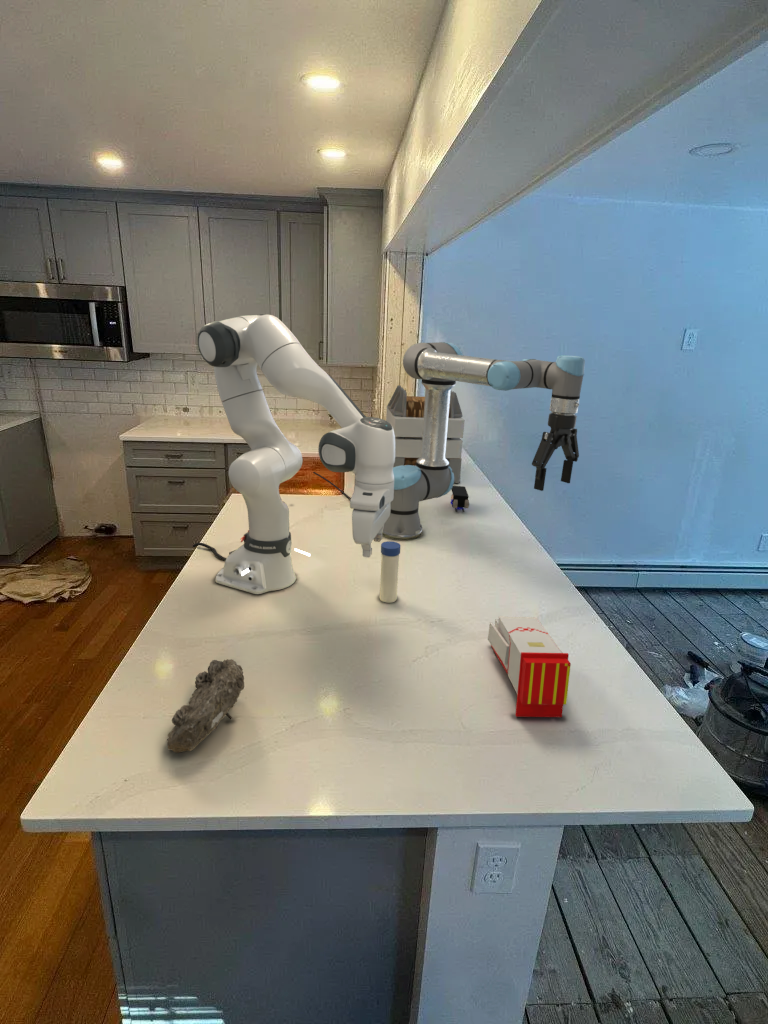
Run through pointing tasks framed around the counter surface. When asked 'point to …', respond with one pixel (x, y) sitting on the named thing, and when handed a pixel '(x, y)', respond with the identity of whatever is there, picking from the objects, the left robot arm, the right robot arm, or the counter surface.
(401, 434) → the grey storage crate
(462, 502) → the figurine character
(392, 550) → the lid
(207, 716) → the fossil
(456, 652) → the counter surface
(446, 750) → the counter surface
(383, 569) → the cream bottle
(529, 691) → the toy
